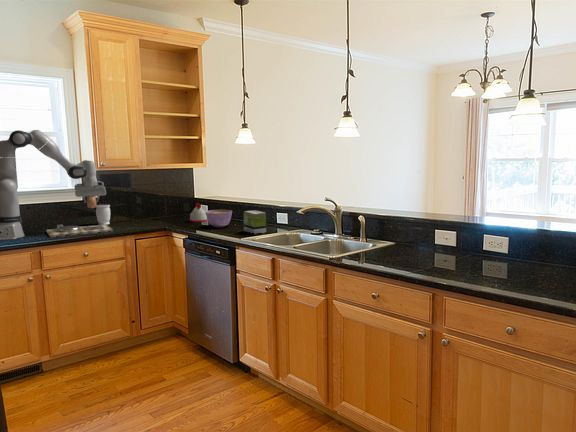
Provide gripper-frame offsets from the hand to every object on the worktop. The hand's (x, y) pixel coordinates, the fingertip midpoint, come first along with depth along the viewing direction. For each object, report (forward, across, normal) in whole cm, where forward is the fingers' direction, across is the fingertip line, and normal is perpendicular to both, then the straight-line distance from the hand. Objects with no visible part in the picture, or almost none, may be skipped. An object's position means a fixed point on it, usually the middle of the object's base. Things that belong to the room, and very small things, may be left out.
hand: (91, 202), depth 315 cm
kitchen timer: (+21, +80, -2) cm, 83 cm away
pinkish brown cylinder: (+4, 0, -1) cm, 4 cm away
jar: (+21, +12, +25) cm, 35 cm away
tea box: (+21, +94, -72) cm, 120 cm away
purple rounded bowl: (+21, +83, -36) cm, 93 cm away
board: (+20, -9, 0) cm, 22 cm away
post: (+19, -16, +1) cm, 25 cm away
